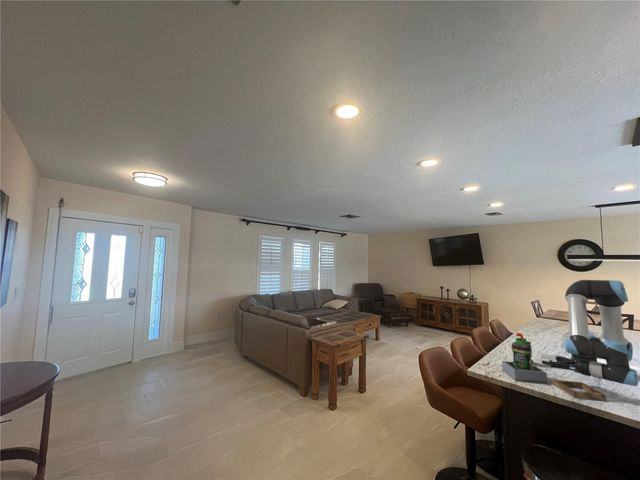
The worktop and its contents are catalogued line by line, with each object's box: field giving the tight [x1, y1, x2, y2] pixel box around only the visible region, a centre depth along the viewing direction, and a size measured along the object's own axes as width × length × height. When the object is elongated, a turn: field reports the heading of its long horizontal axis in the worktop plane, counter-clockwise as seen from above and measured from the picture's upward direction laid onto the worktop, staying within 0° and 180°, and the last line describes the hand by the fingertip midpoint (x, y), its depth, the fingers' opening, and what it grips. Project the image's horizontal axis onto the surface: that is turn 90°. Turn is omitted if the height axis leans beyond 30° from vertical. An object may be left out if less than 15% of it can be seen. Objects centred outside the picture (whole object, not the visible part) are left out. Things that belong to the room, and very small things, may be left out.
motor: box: [515, 332, 534, 365], centre depth 180 cm, size 10×9×20 cm
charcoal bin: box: [501, 360, 548, 384], centre depth 155 cm, size 16×16×6 cm
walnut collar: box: [553, 379, 607, 402], centre depth 134 cm, size 13×15×3 cm
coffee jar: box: [511, 341, 533, 371], centre depth 156 cm, size 10×8×19 cm
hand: (538, 357), depth 150 cm, fingers open, 13 cm apart
